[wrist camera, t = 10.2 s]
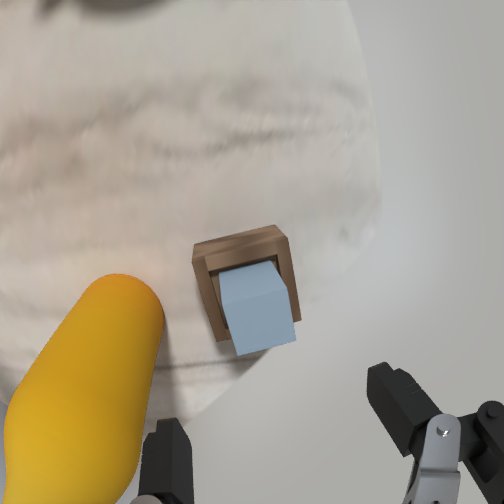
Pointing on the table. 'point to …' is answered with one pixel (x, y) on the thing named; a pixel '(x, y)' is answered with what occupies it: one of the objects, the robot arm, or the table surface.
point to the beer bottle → (85, 400)
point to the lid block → (256, 307)
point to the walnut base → (236, 255)
